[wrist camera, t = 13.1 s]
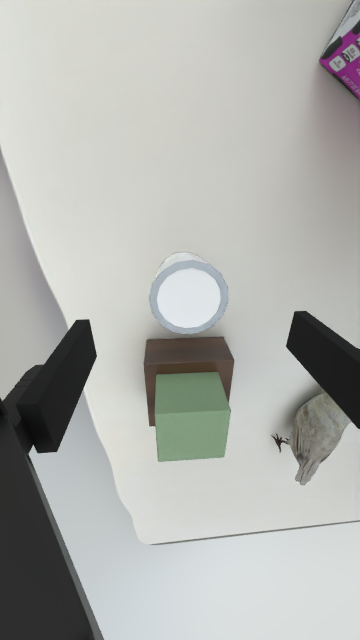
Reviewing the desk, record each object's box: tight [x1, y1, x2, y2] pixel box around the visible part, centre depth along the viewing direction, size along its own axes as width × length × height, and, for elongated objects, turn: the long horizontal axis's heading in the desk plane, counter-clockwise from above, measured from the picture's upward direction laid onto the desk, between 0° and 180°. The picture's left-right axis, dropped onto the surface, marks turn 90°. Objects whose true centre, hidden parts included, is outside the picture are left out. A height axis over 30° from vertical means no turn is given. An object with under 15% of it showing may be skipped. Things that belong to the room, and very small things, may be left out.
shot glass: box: [149, 252, 228, 334], centre depth 23 cm, size 7×7×7 cm
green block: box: [155, 372, 231, 462], centre depth 25 cm, size 7×7×6 cm
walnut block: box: [144, 337, 234, 426], centre depth 29 cm, size 10×10×5 cm
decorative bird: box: [271, 392, 351, 485], centre depth 33 cm, size 5×16×7 cm, turn 161°
